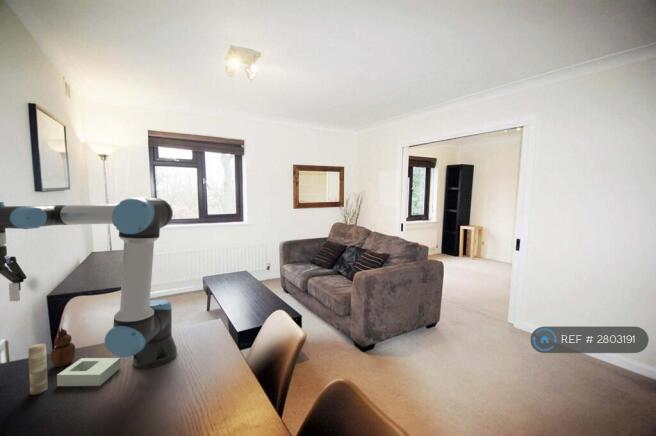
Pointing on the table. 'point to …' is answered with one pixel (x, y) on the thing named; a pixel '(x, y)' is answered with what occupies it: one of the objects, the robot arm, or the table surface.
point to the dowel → (38, 369)
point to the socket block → (88, 372)
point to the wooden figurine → (62, 349)
